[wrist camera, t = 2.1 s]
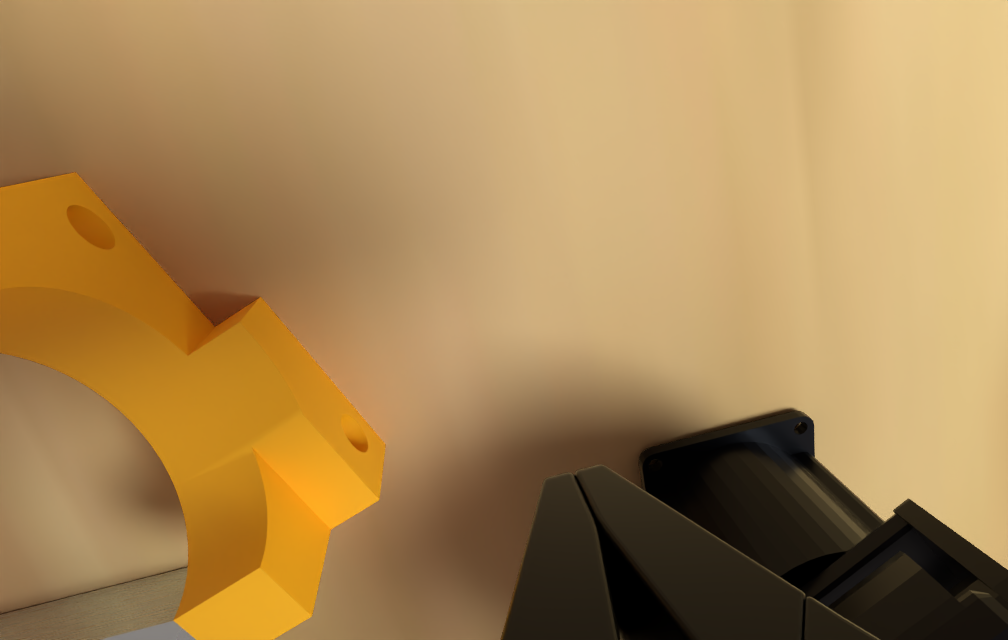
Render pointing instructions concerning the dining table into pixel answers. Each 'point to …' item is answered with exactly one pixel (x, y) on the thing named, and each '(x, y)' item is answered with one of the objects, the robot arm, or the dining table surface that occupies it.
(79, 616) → the rail bay
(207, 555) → the pipe clamp
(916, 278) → the dining table surface
